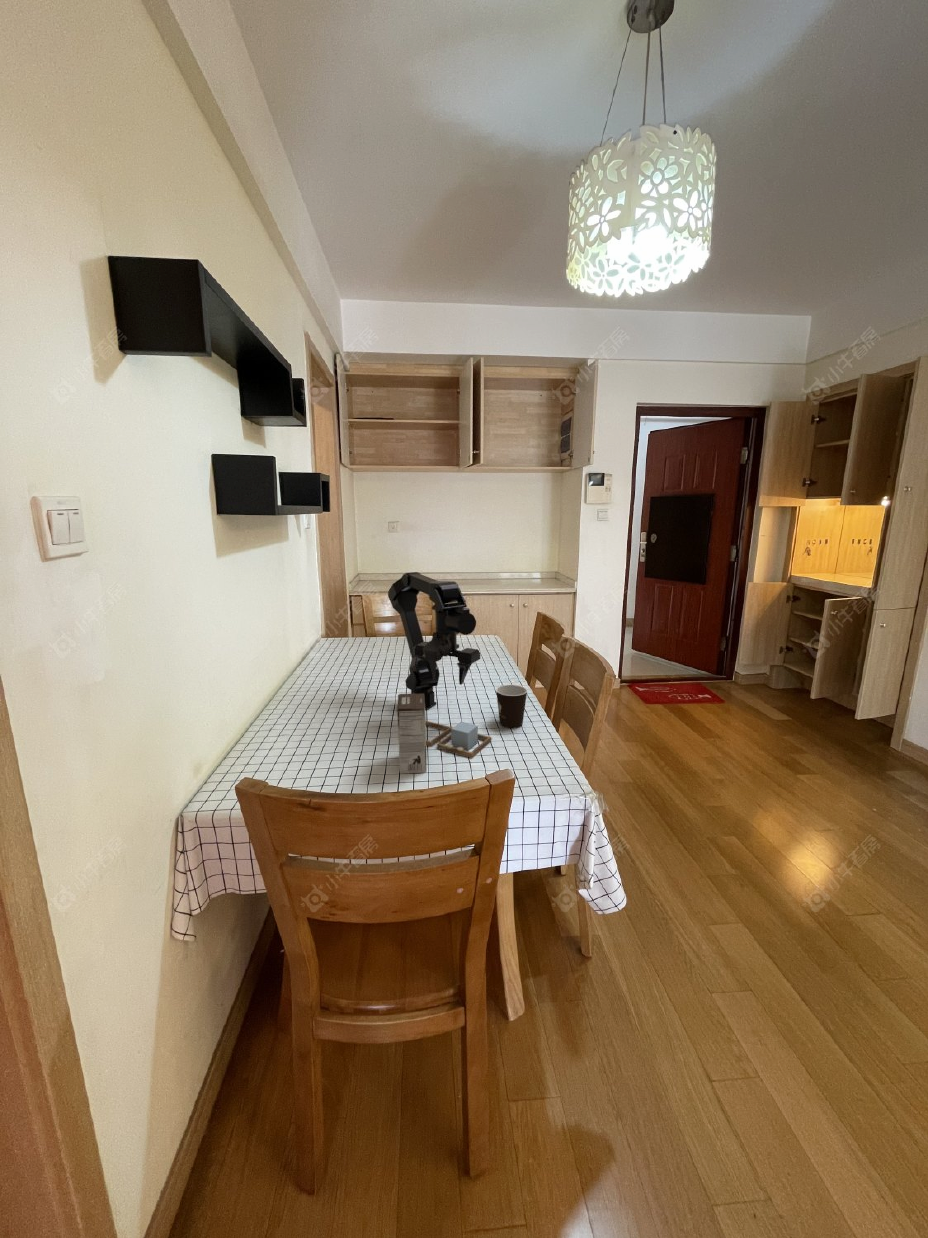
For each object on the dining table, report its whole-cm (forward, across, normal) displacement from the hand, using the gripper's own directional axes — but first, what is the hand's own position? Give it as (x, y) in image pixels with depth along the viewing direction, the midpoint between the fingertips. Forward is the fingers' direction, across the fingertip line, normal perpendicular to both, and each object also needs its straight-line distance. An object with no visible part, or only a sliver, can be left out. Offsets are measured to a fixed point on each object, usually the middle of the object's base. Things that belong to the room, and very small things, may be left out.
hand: (446, 681), depth 136 cm
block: (+12, +11, -10) cm, 19 cm away
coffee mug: (+12, +16, +9) cm, 22 cm away
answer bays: (+12, +6, -10) cm, 17 cm away
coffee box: (+12, +6, -24) cm, 28 cm away
